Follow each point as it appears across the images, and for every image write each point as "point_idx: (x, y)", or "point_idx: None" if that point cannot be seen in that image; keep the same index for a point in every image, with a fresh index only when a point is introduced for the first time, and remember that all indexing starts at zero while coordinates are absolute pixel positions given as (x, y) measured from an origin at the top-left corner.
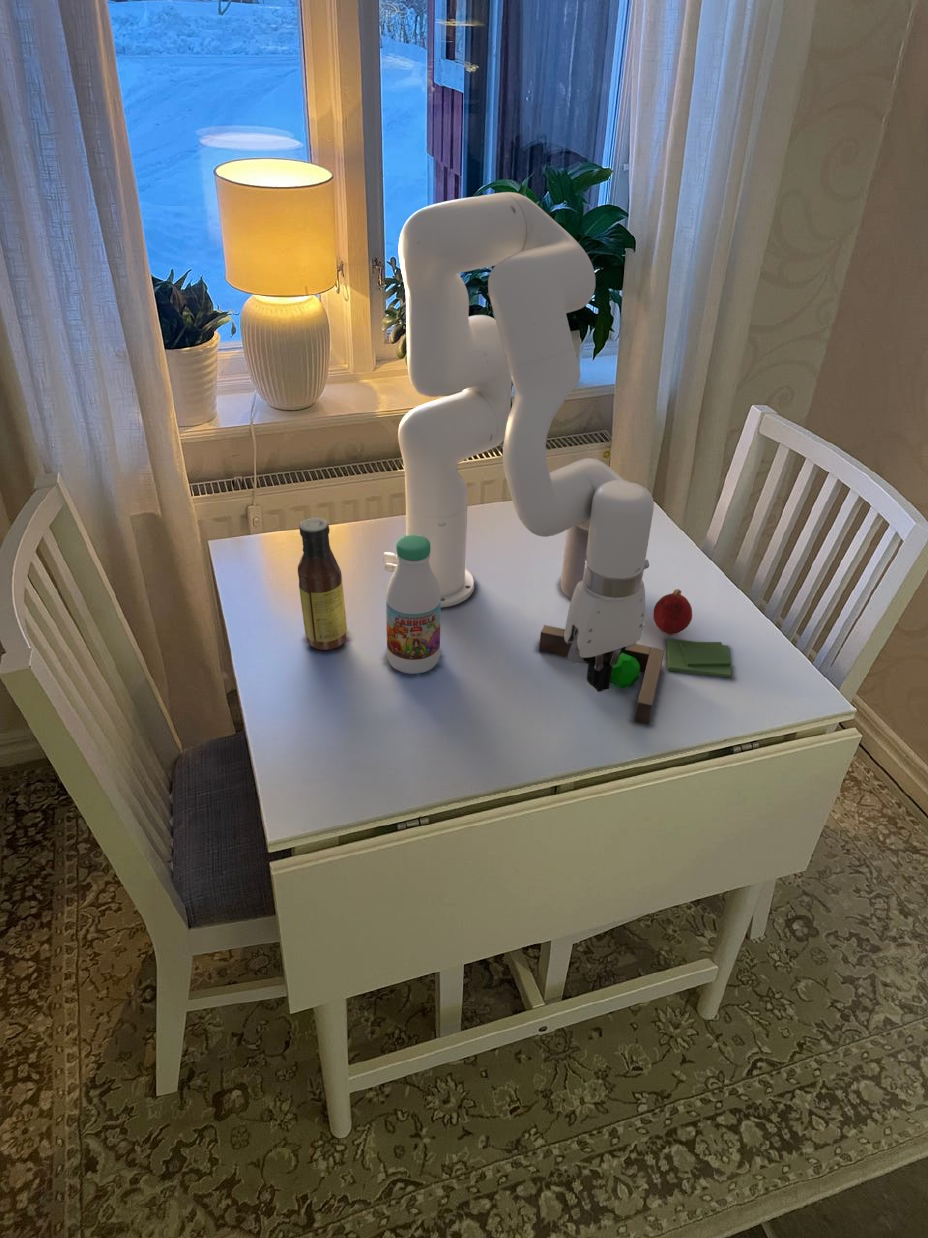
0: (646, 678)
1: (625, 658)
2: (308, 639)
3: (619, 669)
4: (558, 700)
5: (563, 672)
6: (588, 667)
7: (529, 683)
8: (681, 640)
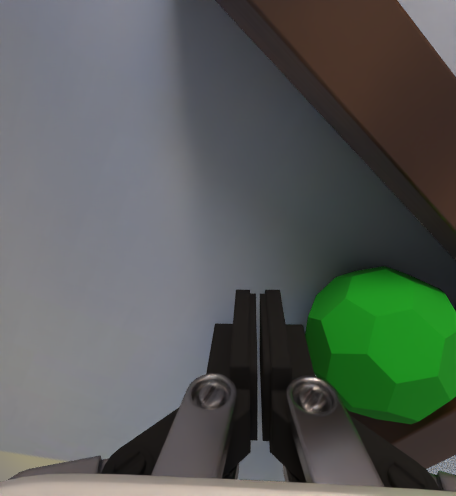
0: (409, 445)
1: (410, 405)
2: None
3: (343, 400)
4: (121, 282)
5: (205, 160)
6: (207, 369)
7: (50, 166)
8: None
